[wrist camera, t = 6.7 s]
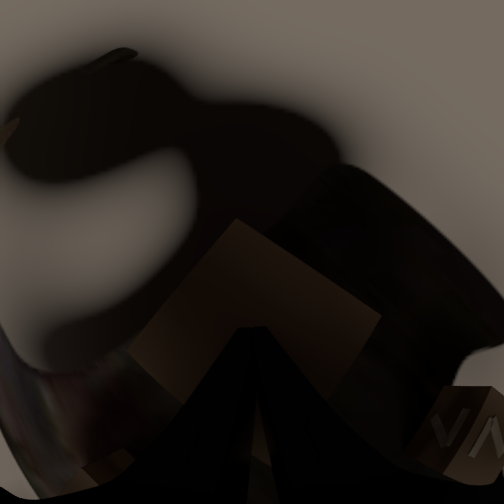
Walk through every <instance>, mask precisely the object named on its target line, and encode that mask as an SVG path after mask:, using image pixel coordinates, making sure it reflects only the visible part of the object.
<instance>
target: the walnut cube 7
mask: <svg viewBox="0 0 504 504" xmlns="http://www.w3.org/2000/svg"><path fill="white" fill-rule="evenodd" d="M403 453H404V454H406V455H408V456H410V457H411V458H413V459H415V460H417V461H419V462H421V463H422V464H424V465H426V466H428V467H430V468H432V469H434V470H436V471H438V472H440V473H442V474H444V475H446V476H448V477H451V478H453V479H455V480H457V481H460V482H462V483H465V484H468V485H487V484H491V483H494V481H495V480H496V478H497V476H498V475H499V473H500V471H501V470H502V468H503V466H504V396H503V395H502V394H501V393H500V392H498V391H497V390H496V389H495V388H493V387H492V386H443V388H442V390H441V392H440V394H439V395H438V397H437V399H436V401H435V403H434V404H433V406H432V408H431V409H430V411H429V413H428V415H427V416H426V418H425V419H424V421H423V423H422V424H421V426H420V427H419V429H418V431H417V432H416V434H415V435H414V437H413V438H412V440H411V441H410V443H409V444H408V445H407V447H406V448H405V450H404V451H403Z"/></svg>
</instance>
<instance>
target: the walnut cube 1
mask: <svg viewBox="0 0 504 504" xmlns="http://www.w3.org/2000/svg"><path fill="white" fill-rule="evenodd" d="M135 460H136V459H135V458H134V457H133V456H132V455H131V454H129V453H128V452H127V451H126V450H125V449H124V448H122V449H120V450H118V451H116V452H114V453H112V454H110V455H107V456H105V457H103V458H101V459H99V460H97V461H95V462H92V463H90V464H88V465H86V466H84V467H81V468H80V470H79V471H78V472H77V473H76V474H75V476H74V477H73V478H72V479H71V481H70V482H69V483H68V484H67V485H66V487H65V488H64V489H63V490H62V492H61V493H60V494H59V495H58V496H61V495H65V494H69V493H73V492H77V491H81V490H85V489H89V488H92V487H96V486H99V485H102V484H105V483H107V482H109V481H111V480H113V479H114V478H116V477H117V476H119V475H120V474H121V473H122V472H123V471H124V470H126V469H127V468H128V467H129V466H130V465H131V464H132V463H133V462H134V461H135Z"/></svg>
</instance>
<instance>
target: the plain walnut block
mask: <svg viewBox="0 0 504 504" xmlns="http://www.w3.org/2000/svg"><path fill="white" fill-rule="evenodd" d="M380 318H381V315H380V314H379V313H377V312H376V311H374V310H373V309H371V308H370V307H368V306H367V305H366V304H364V303H363V302H361V301H360V300H358V299H357V298H355V297H354V296H352V295H351V294H350V293H348V292H347V291H345V290H344V289H342V288H341V287H339V286H338V285H336V284H335V283H333V282H332V281H330V280H329V279H327V278H326V277H325V276H323V275H322V274H320V273H319V272H317V271H316V270H314V269H313V268H311V267H310V266H308V265H307V264H305V263H304V262H302V261H301V260H299V259H298V258H296V257H295V256H293V255H292V254H290V253H289V252H287V251H286V250H284V249H283V248H281V247H280V246H278V245H277V244H275V243H274V242H272V241H271V240H269V239H268V238H266V237H265V236H263V235H262V234H260V233H258V232H257V231H255V230H254V229H252V228H251V227H249V226H248V225H246V224H245V223H243V222H242V221H240V220H239V219H235V220H234V222H233V223H232V224H231V225H230V226H229V227H228V228H227V230H226V231H225V232H224V233H223V234H222V235H221V237H220V238H219V239H218V240H217V241H216V242H215V244H214V245H213V246H212V247H211V248H210V249H209V251H208V252H207V253H206V254H205V255H204V256H203V258H202V259H201V260H200V261H199V262H198V263H197V265H196V266H195V267H194V268H193V269H192V271H191V272H190V273H189V274H188V275H187V276H186V278H185V279H184V280H183V281H182V282H181V284H180V285H179V286H178V287H177V288H176V290H175V291H174V292H173V293H172V295H171V296H170V297H169V298H168V299H167V301H166V302H165V303H164V304H163V305H162V307H161V308H160V309H159V310H158V312H157V313H156V314H155V315H154V317H153V318H152V319H151V320H150V322H149V323H148V324H147V325H146V326H145V328H144V329H143V330H142V331H141V333H140V334H139V335H138V336H137V338H136V339H135V340H134V342H133V343H132V344H131V345H130V347H129V348H128V349H127V350H126V352H127V353H128V354H129V355H130V356H131V357H132V358H133V359H134V360H135V361H136V362H137V363H138V364H139V365H140V366H141V367H142V368H143V369H144V370H145V371H146V372H147V373H149V374H150V375H151V376H152V377H153V378H154V379H155V380H156V381H157V382H158V383H159V384H160V385H162V386H163V387H164V388H165V389H166V390H167V391H168V392H169V393H171V394H172V395H173V396H174V397H175V398H176V399H178V400H179V401H180V402H181V403H182V404H184V405H185V402H186V401H187V400H188V398H189V397H190V396H191V394H192V393H193V391H194V390H195V388H196V387H197V386H198V384H199V383H200V381H201V380H202V379H203V377H204V376H205V374H206V373H207V371H208V370H209V369H210V367H211V366H212V364H213V363H214V361H215V360H216V359H217V357H218V356H219V354H220V353H221V351H222V350H223V348H224V347H225V346H226V344H227V343H228V341H229V340H230V338H231V337H232V335H233V334H234V332H235V331H236V329H237V328H241V327H251V328H253V327H256V326H266V327H267V328H268V329H269V330H270V332H271V333H272V334H273V336H274V337H275V338H276V339H277V341H278V342H279V343H280V345H281V346H282V347H283V348H284V350H285V351H286V352H287V354H288V355H289V356H290V357H291V359H292V360H293V361H294V362H295V364H296V365H297V366H298V367H299V369H300V370H301V371H302V373H303V374H304V375H305V376H306V378H307V379H308V380H309V381H310V383H311V384H312V385H313V386H314V387H315V389H316V390H317V391H318V392H319V394H320V395H321V398H324V400H325V401H327V400H328V398H329V397H330V396H331V394H332V393H333V392H334V390H335V389H336V387H337V386H338V384H339V383H340V382H341V380H342V379H343V377H344V376H345V374H346V373H347V371H348V370H349V368H350V367H351V365H352V364H353V362H354V361H355V359H356V357H357V356H358V354H359V353H360V351H361V350H362V348H363V346H364V345H365V343H366V341H367V340H368V338H369V336H370V335H371V333H372V331H373V330H374V328H375V326H376V325H377V323H378V321H379V319H380ZM251 455H253V456H254V457H256V458H258V459H259V460H261V461H262V462H264V463H266V464H267V465H269V466H270V467H272V466H271V462H270V457H269V453H268V448H267V443H266V439H265V434H264V429H263V424H262V419H261V414H260V410H259V405H258V399H257V391H256V410H255V421H254V432H253V443H252V453H251Z"/></svg>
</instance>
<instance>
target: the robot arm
mask: <svg viewBox="0 0 504 504" xmlns="http://www.w3.org/2000/svg"><path fill="white" fill-rule="evenodd" d="M256 391H257V399H258V405H259V410H260V414H261V419H262V424H263V429H264V434H265V439H266V443H267V448H268V453H269V457H270V462H271V466H272V471H273V475H274V480H275V484H276V489H277V493H278V498H279V502H280V504H504V478H502V479H501V480H499V481H497V482H495V483H491V484H487V485H468V484H462V483H456V482H451V481H445V480H441V479H436V478H431V477H427V476H423V475H419V474H415V473H411V472H408V471H405V470H403V469H401V468H399V467H397V466H396V465H394V464H392V463H391V462H390V461H388V460H387V459H386V458H385V457H383V456H382V455H381V454H380V453H379V452H378V451H376V450H375V449H374V448H373V447H372V446H370V445H369V444H368V443H367V442H366V441H365V440H363V439H362V438H361V437H360V436H359V435H358V434H357V433H355V432H354V431H353V430H352V429H351V428H350V427H349V426H348V425H347V424H346V423H345V422H344V421H343V420H342V419H341V418H340V417H339V416H338V415H337V414H336V413H335V411H334V410H333V409H332V408H331V407H330V406H329V405H328V403H327V402H326V401H325V400H324V398H321V395H320V394H319V392H318V391H317V390H316V389H315V387H314V386H313V385H312V384H311V383H310V381H309V380H308V379H307V378H306V376H305V375H304V374H303V373H302V371H301V370H300V369H299V367H298V366H297V365H296V364H295V362H294V361H293V360H292V359H291V357H290V356H289V355H288V354H287V352H286V351H285V350H284V348H283V347H282V346H281V345H280V343H279V342H278V341H277V339H276V338H275V337H274V336H273V334H272V333H271V332H270V330H269V329H268V328H267V327H266V326H256V327H253V328H251V327H241V328H237V329H236V331H235V332H234V334H233V335H232V337H231V338H230V340H229V341H228V343H227V344H226V346H225V347H224V348H223V350H222V351H221V353H220V354H219V356H218V357H217V359H216V360H215V361H214V363H213V364H212V366H211V367H210V369H209V370H208V371H207V373H206V374H205V376H204V377H203V379H202V380H201V381H200V383H199V384H198V386H197V387H196V388H195V390H194V391H193V393H192V394H191V396H190V397H189V398H188V400H187V401H186V402H185V406H182V408H181V409H180V411H179V412H178V413H177V415H176V416H175V417H174V419H173V420H172V421H171V422H170V424H169V425H168V426H167V428H166V429H165V430H164V431H163V432H162V433H161V434H160V435H159V436H158V437H157V439H156V440H155V441H154V442H153V443H152V444H151V445H150V446H149V447H148V448H147V449H146V450H145V451H144V452H143V453H142V454H141V455H140V456H139V457H138V458H137V459H136V460H135V461H134V462H133V463H132V464H131V465H130V466H129V467H128V468H127V469H126V470H124V471H123V472H122V473H121V474H120V475H119V476H117V477H116V478H114V479H113V480H111V481H109V482H107V483H105V484H102V485H99V486H96V487H92V488H89V489H85V490H81V491H77V492H73V493H69V494H65V495H61V496H56V497H51V498H46V499H38V500H28V499H22V498H19V497H17V496H15V495H13V494H11V493H10V492H8V491H7V490H5V489H3V488H2V487H0V504H246V502H247V492H248V483H249V473H250V463H251V453H252V443H253V432H254V421H255V410H256Z"/></svg>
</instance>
